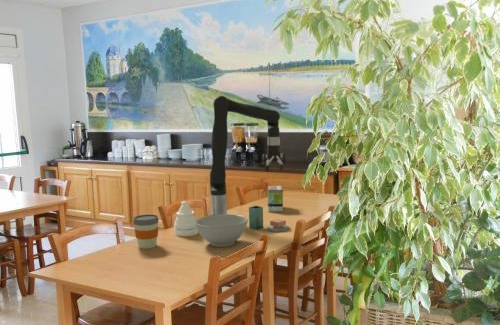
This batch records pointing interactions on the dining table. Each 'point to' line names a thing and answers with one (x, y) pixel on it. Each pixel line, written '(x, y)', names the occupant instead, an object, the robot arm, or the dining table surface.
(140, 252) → the dining table surface
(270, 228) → the slate mat
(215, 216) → the decorative bowl
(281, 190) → the tea box
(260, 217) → the tea tin
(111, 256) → the dining table surface
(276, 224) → the tin lid
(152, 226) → the reusable coffee cup
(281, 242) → the dining table surface
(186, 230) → the honey pot
